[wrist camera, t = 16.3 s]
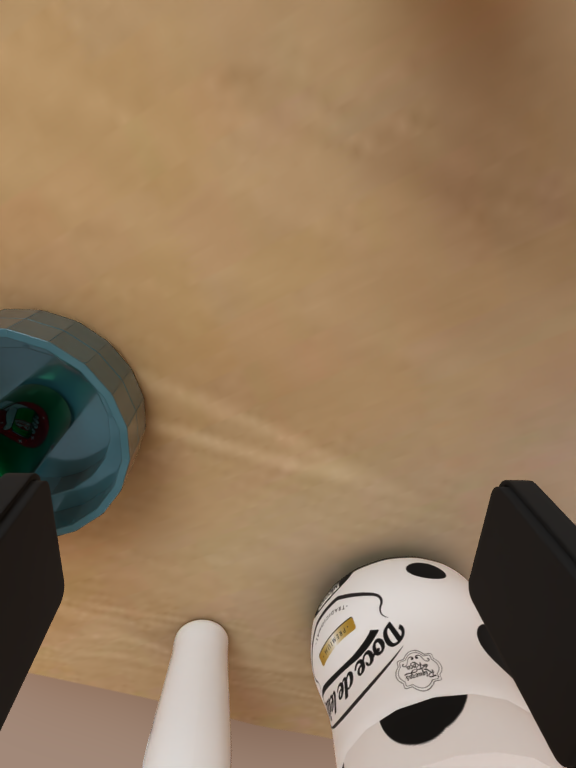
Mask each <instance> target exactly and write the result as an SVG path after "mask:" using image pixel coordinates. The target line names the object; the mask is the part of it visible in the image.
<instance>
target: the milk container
mask: <svg viewBox="0 0 576 768" xmlns="http://www.w3.org/2000/svg"><path fill="white" fill-rule="evenodd" d="M311 663H312V670H313V675H314V679H315V683H316V686H317V688H318V691H319V694H320V696H321V698H322V701H323V703H324V705H325V708H326V710H327V712H328V715H329V718H330V723H331V728H332V735H333V742H334V752H335V760H336V768H563V766H562V765H560V764H559V763H558V762H557V760H556V759H555V757H554V756H553V754H552V752H551V750H550V748H549V746H548V744H547V742H546V740H545V739H544V737H543V735H542V733H541V731H540V729H539V727H538V725H537V723H536V721H535V720H534V718H533V716H532V714H531V712H530V710H529V708H528V706H527V704H526V702H525V701H524V699H523V697H522V695H521V693H520V691H519V689H518V687H517V685H516V683H515V682H514V680H513V678H512V676H511V674H510V672H509V670H508V668H507V666H506V665H505V663H504V661H503V659H502V657H501V655H500V653H499V651H498V649H497V647H496V646H495V644H494V642H493V640H492V638H491V636H490V634H489V632H488V630H487V628H486V627H485V625H484V623H483V621H482V619H481V617H480V615H479V613H478V611H477V609H476V608H475V606H474V604H473V602H472V600H471V597H470V594H469V582H468V581H467V580H466V579H465V578H464V577H463V576H462V575H461V574H459V573H458V572H456V571H455V570H453V569H451V568H450V567H448V566H446V565H444V564H442V563H440V562H436V561H433V560H429V559H424V558H419V557H395V558H387V559H382V560H379V561H375V562H373V563H370V564H367V565H364V566H362V567H360V568H357V569H355V570H354V571H352V572H351V573H349V574H348V575H346V576H345V577H344V578H342V579H341V580H340V581H338V582H337V583H336V584H335V585H334V586H333V587H332V588H331V589H330V590H329V592H328V593H327V594H326V596H325V597H324V599H323V600H322V602H321V603H320V605H319V607H318V610H317V612H316V614H315V617H314V621H313V626H312V633H311Z"/></svg>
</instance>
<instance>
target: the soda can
mask: <svg viewBox="0 0 576 768" xmlns="http://www.w3.org/2000/svg"><path fill="white" fill-rule="evenodd" d="M70 424H71V412H70V409H69V406H68V404H67V402H66V401H65V400H64V398H63V397H62V396H61V395H60V394H59V393H57V392H56V391H54V390H53V389H51V388H49V387H46V386H43V385H39V384H25V385H21V386H18V387H16V388H15V389H13V390H12V391H11V392H9V393H8V394H7V395H6V396H4V397H3V398H2V399H1V400H0V478H1V476H3V475H4V474H6V473H35V471H36V470H37V469H38V468H39V466H40V465H41V464H42V462H43V461H44V460H45V459H46V457H47V456H48V455H49V454H50V452H51V451H52V450H53V449H54V447H55V446H56V445H57V444H58V442H59V441H60V440H61V439H62V437H63V436H64V435H65V434H66V432H67V431H68V429H69V427H70Z"/></svg>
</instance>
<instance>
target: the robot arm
mask: <svg viewBox="0 0 576 768" xmlns="http://www.w3.org/2000/svg"><path fill="white" fill-rule="evenodd" d="M63 593H64V578H63V571H62V565H61V558H60V552H59V545H58V538H57V532H56V525H55V519H54V512H53V505H52V499H51V492H50V487H49V483H48V482H47V481H41V479H40V477H39V475H38V474H36V473H6V474H4V475H3V476H1V478H0V730H1V728H2V726H3V724H4V722H5V720H6V718H7V715H8V713H9V711H10V709H11V707H12V705H13V703H14V701H15V698H16V696H17V694H18V692H19V690H20V688H21V686H22V683H23V682H24V679H25V677H26V675H27V673H28V671H29V669H30V667H31V665H32V663H33V660H34V658H35V656H36V654H37V652H38V650H39V648H40V646H41V643H42V641H43V639H44V637H45V635H46V633H47V631H48V629H49V626H50V624H51V622H52V620H53V618H54V616H55V614H56V612H57V610H58V607H59V605H60V603H61V601H62V597H63ZM469 594H470V597H471V600H472V602H473V604H474V606H475V608H476V609H477V611H478V613H479V615H480V617H481V619H482V621H483V623H484V625H485V627H486V628H487V630H488V632H489V634H490V636H491V638H492V640H493V642H494V644H495V646H496V647H497V649H498V651H499V653H500V655H501V657H502V659H503V661H504V663H505V665H506V666H507V668H508V670H509V672H510V674H511V676H512V678H513V680H514V682H515V683H516V685H517V687H518V689H519V691H520V693H521V695H522V697H523V699H524V701H525V702H526V704H527V706H528V708H529V710H530V712H531V714H532V716H533V718H534V720H535V721H536V723H537V725H538V727H539V729H540V731H541V733H542V735H543V737H544V739H545V740H546V742H547V744H548V746H549V748H550V750H551V752H552V754H553V756H554V757H555V759H556V760H557V762H558V763H559V764H560V765H562V766H564V767H567V768H576V525H575V524H574V523H573V522H572V521H571V520H570V519H569V518H568V517H567V516H566V515H565V514H564V513H563V512H562V511H561V510H560V509H559V508H558V507H557V506H556V505H555V503H554V502H553V501H552V500H551V499H550V498H549V497H548V496H547V495H546V494H545V493H544V492H543V491H542V490H541V489H540V488H539V487H538V486H537V485H536V484H535V483H534V482H533V481H526V480H505V481H502V483H501V484H500V485H499V487H495V488H494V489H493V491H492V493H491V497H490V501H489V505H488V509H487V513H486V516H485V520H484V524H483V528H482V532H481V536H480V540H479V544H478V548H477V551H476V555H475V559H474V563H473V567H472V571H471V575H470V579H469Z"/></svg>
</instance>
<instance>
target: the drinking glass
mask: <svg viewBox="0 0 576 768" xmlns="http://www.w3.org/2000/svg"><path fill="white" fill-rule="evenodd" d="M228 643H229V642H228V636H227V633H226V631H225V630H224V628H223V627H222V626H220V625H219V624H218V623H216V622H213V621H210V620H194V621H191V622H189V623H187V624H185V625H184V626H182V627H181V628H180V629H179V631H178V632H177V634H176V636H175V639H174V644H173V650H172V655H171V659H170V663H169V666H168V670H167V674H166V678H165V681H164V685H163V689H162V692H161V696H160V700H159V704H158V707H157V711H156V714H155V718H154V721H153V725H152V729H151V732H150V736H149V740H148V744H147V748H146V752H145V756H144V761H143V766H142V768H231V725H230V702H229V676H228Z"/></svg>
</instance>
